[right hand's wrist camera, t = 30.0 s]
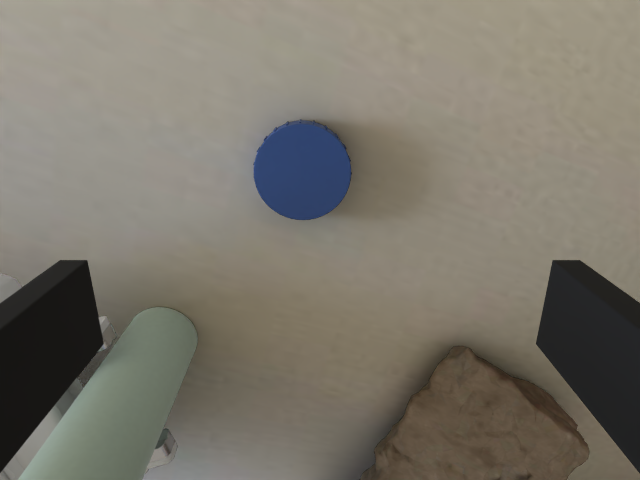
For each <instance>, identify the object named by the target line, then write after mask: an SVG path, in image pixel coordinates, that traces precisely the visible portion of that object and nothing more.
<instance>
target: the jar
mask: <svg viewBox="0 0 640 480" xmlns="http://www.w3.org/2000/svg"><path fill="white" fill-rule="evenodd" d="M197 343H198V337H197V332H196V329H195V327H194V325H193V324H192V322H191V321H190V320H189V319H188V318H187V317H186V316H185V315H183V314H182V313H180V312H178V311H176V310H173V309H170V308H165V307H154V308H149V309H146V310H144V311H142V312H140V313H139V314H137V315H136V316H135V317H134V318H133V320H132V321H131V323H130V324H129V325H128V327H127V328H126V330H125V331H124V332H123V334H122V335H121V337H120V338H119V339H118V341H117V342H116V344H115V345H114V346H113V348H112V349H111V351H110V352H109V353H108V355H107V356H106V357H105V359H104V360H103V362H102V363H101V364H100V366H99V367H98V369H97V370H96V371H95V373H94V374H93V376H92V377H91V378H90V380H89V381H88V383H87V384H86V385H85V387H84V388H83V390H82V391H81V392H80V394H79V395H78V397H77V398H76V399H75V401H74V402H73V403H72V405H71V406H70V408H69V409H68V410H67V412H66V413H65V415H64V416H63V417H62V419H61V420H60V422H59V423H58V424H57V426H56V427H55V429H54V430H53V431H52V433H51V434H50V436H49V437H48V438H47V440H46V441H45V443H44V444H43V445H42V447H41V448H40V449H39V451H38V452H37V454H36V455H35V456H34V458H33V459H32V461H31V462H30V463H29V465H28V466H27V468H26V469H25V470H24V472H23V473H22V475H21V476H20V477H19V479H18V480H142V479H143V476H144V474H145V471H146V469H147V467H148V464H149V462H150V459H151V457H152V454H153V452H154V450H155V447H156V445H157V442H158V440H159V437H160V435H161V433H162V430H163V428H164V425H165V423H166V420H167V418H168V416H169V413H170V411H171V408H172V406H173V403H174V401H175V399H176V396H177V394H178V391H179V389H180V386H181V384H182V382H183V379H184V377H185V374H186V372H187V369H188V367H189V365H190V362H191V360H192V357H193V355H194V352H195V350H196V347H197Z"/></svg>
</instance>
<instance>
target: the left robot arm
mask: <svg viewBox="0 0 640 480" xmlns="http://www.w3.org/2000/svg"><path fill="white" fill-rule="evenodd" d="M21 288H22V287H21V285H20V283H19V282H18V280H17V279H16V278H14V277H11V276H9V275H5V274H2V273H0V303H1V302H3V301H4V300H5V299H7V298H8V297H9V296H11V295H12V294H14V293H15V292H16V291H18V290H19V289H21ZM99 322H100V326H101V331H102V336H103V341H104V344H103V346H102V347H101V348H100V349H99V351H98V352H100V351H103V350H105V349H106V348H108V347H109V346H110V345H111V344H112V340H113V339H115V338H116V337H117V334H116V333H115V331H114V329H113V327H112V325H111V323H110V322H109V320H108V318H107V316H101V317H99ZM82 390H83V386H82V385H81V383H80V381H79V380H78V378H76V379H75V381H74V382H73V383H72V384H71V386H70V387H69V388H68V389H67V391H66V392H65V393H64V394H63V396H62V397H61V398H60V399H59V401H58V402H57V403H56V404H55V406H54V407H53V408H52V409H51V411H50V412H49V413H48V414H47V416H46V417H45V418H44V419H43V421H42V422H41V423H40V424H39V426H38V427H37V428H36V429H35V431H34V432H33V433H32V434H31V436H30V437H29V438H28V439H27V441H26V442H25V443H24V444H23V446H22V447H21V448H20V449H19V450H18V452H17V453H16V454H15V455H14V457H13V458H12V459H11V460H10V462H9V463H8V464H7V465H6V467H5V468H4V469H3V470H2V472H1V473H0V480H18V479H19V477H20V476H21V475H22V473H23V472H24V470H25V469H26V468H27V466H28V465H29V463H30V462H31V461H32V459H33V458H34V456H35V455H36V454H37V452H38V451H39V449H40V448H41V447H42V445H43V444H44V443H45V441H46V440H47V438H48V437H49V436H50V434H51V433H52V431H53V430H54V429H55V427H56V426H57V424H58V423H59V422H60V420H61V419H62V417H63V416H64V415H65V413H66V412H67V410H68V409H69V408H70V406H71V405H72V403H73V402H74V401H75V399H76V398H77V397H78V395H79V394H80V392H81V391H82ZM177 447H178V445H177V443H176V441H175V440H174V438H173V436H172V434H171V433H170V431H169V430H168V429H163V430H162V433H161V435H160V437H159V440H158V442H157V445H156V447H155V450H154V452H153V454H152V457H151V459H150V462H149V464H148V467H147V469H146V471H145V473H146V472H147V471H148V470H149V469H150V468H154V467H158V466H161V465H165V464H168V463H169V462H171V461H172V460H173V458H174V456H175V453H176V450H177Z"/></svg>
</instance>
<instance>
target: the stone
mask: <svg viewBox="0 0 640 480" xmlns="http://www.w3.org/2000/svg"><path fill="white" fill-rule="evenodd" d="M577 426H578V425H577V424H576V423H575V421H574V420H573V419H572V418H571V417H570V416H569V415H568V414H567V413H566V412H565V411H564V410H563V409H562V408H561V407H560V406H559V405H558V404H557V402H556V401H555V400H554V399H553V397H552V396H551V395H549V394H548V393H547V392H545V391H544V390H542V389H541V388H539V387H537V386H536V385H534V384H532V383H530V382H528V381H525V380H521V379H517V378H514V377H511V376H509V375H508V374H507V373H505V372H504V371H502V370H501V369H499V368H497V367H495V366H493V365H492V364H490V363H489V362H487V361H486V360H484V359H481V358H478V357H477V356H476V355H475V354H474V353H473V352H472V350H471V349H470V348H467V347H464V346H456V347H453V348H452V349H451V350H450V352H449V353H448V355H447V357H446V358H444V359H443V360H442V361H441V362H440V363H439V364H438V366H437V367H436V369H435V370H434V372H433V374H432V375H431V377H430V379H429V382H428V384H427V385H426V386H424V387H423V388H422V389H421V390H420V391H419V392H418V393H416V394H414V395H412V396H411V398H410V400H409V402H408V404H407V407H406V412H405V414H404V416H403V417H402V419H401V420H400V421H399V422H398V423H396V424H395V425H393V427H392V429H391V431H390V432H389V434H388V435H387V436H386V437H385V438H384V439H382V440H381V441H380V443H379V444H378V445H377V446H376V448H375V449H374V453H375V459H376V463H375V464H374V465H373V466H371V468H369V469H367V470H366V471H365V472H363V474H362V475H361V479H360V480H567V478H568V476H569V474H570V473H571V472H572V471H573V470H574V469H575V468H576V467H577V466H579V465H582V464H583V463H584V462H585V461H586V460H587V459H588V456H589V449H588V445H587V443H586V442H585V441H584V438H583V437H582V436H581V434H580V433H579V432H578V431H577V430H576V429H577Z"/></svg>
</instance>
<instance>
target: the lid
mask: <svg viewBox="0 0 640 480" xmlns="http://www.w3.org/2000/svg"><path fill="white" fill-rule="evenodd" d="M345 149H346V147H345V145H344V144H342V142H341V141H340V139H339V138H338V135H337V134H335V133H333V132H332V131H331V130H330V129H328V128H327V126H326V125H325V126H323V125H321V124H319V123H316V122H315V121H313V122H312V121H303V120H301V119H300V121H293V122H287V123H286V124H284V125H282V126H280V127H278V128H277V127H276V128H275V129H274V131H273V132H272V133H271V134H270V135H269V136H266V137H265V139H264V142H263V144H262V146H261V147H259V149H258V150H257V152H258V153H257V155H256V159H255V162H254V180H255V184H256V187H257V190H258V192H259V194H260V196H261V198H262V199H263V200H264V202H265V203H266V204H267V205H268V206H269V207H270V208H271V209H273V210H274V211H275V212H277V213H279V214H280V215H282V216H285V217H288V218H291V219H296V220H310V219H315V218H318V217H321V216H323V215H325V214H327V213H329V212H330V211H332V210H333V209H334V208H335V207H336V206H337V205H338V204H339V203H340V202H341V201H342V199H343V198H344V196H345V194H346V192H347V190H348V187H349V184H350V180H351V174H352V173H351V165H350V161H351V160H350V158H349V156H348V154H347V152H346V150H345Z"/></svg>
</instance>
